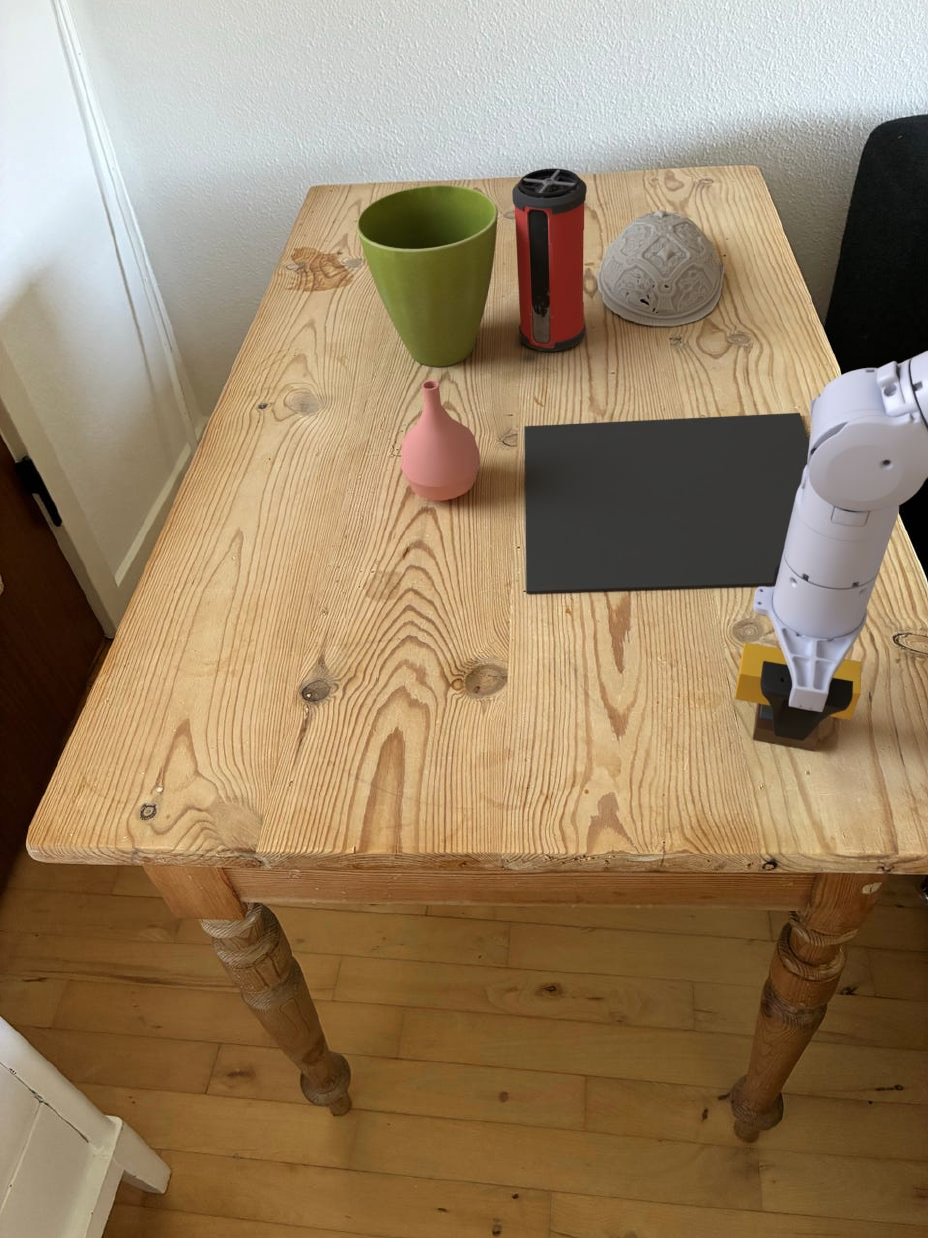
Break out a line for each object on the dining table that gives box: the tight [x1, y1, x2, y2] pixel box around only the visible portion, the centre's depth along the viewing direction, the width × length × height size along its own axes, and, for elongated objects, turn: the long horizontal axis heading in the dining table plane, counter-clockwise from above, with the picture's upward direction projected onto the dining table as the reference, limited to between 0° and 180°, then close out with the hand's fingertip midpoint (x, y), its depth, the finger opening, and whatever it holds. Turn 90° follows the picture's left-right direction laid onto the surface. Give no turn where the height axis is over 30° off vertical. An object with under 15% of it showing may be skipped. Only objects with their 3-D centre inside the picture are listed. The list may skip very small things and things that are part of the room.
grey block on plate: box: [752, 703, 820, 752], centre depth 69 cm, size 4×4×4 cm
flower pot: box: [355, 184, 499, 368], centre depth 104 cm, size 15×15×16 cm
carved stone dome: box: [596, 209, 726, 328], centre depth 116 cm, size 16×25×7 cm, turn 172°
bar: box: [734, 642, 862, 721], centre depth 67 cm, size 8×3×3 cm, turn 73°
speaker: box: [511, 167, 588, 353], centre depth 103 cm, size 8×8×18 cm
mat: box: [524, 412, 810, 595], centre depth 89 cm, size 28×24×1 cm
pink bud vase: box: [400, 379, 481, 501], centre depth 88 cm, size 8×8×12 cm
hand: (793, 692), depth 68 cm, fingers open, 7 cm apart
